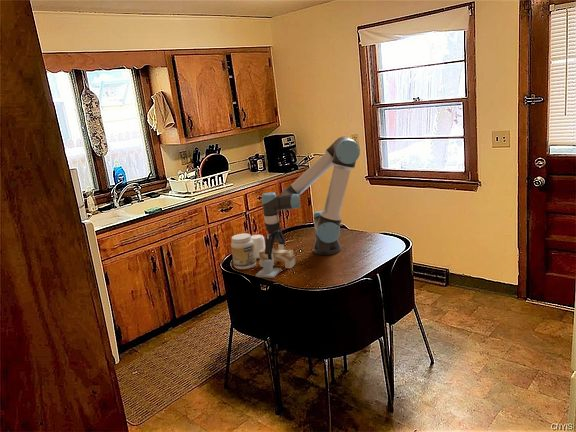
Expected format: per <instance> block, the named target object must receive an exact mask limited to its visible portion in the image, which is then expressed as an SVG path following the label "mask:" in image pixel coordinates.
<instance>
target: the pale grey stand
mask: <svg viewBox="0 0 576 432" xmlns="http://www.w3.org/2000/svg"><path fill="white" fill-rule="evenodd" d="M262 263H263V267H262V268H261V270H259V271H258V272H257V273H256V274H255V278H256V277H257V278H271V279H274V278H275V277H276V276H277V275H278V274H279V273H280V272H281V271H282V268H281V267H274V266H273V264H272V260H267V259H265V260H264V261H262Z"/></svg>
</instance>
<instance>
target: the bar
mask: <svg viewBox="0 0 576 432" xmlns="http://www.w3.org/2000/svg"><path fill="white" fill-rule="evenodd" d="M272 253H273V259H274V262H275V261H276V262H277V261H278V262H285V261H292V260H293V259H294V257H295V256H294V250H293V249H284V250H279V249H277V248H276V249H274V248H273V249H272ZM259 257H260V258H259V260H265V259H267V260H268V254H265V249H262V250H261V251H259Z"/></svg>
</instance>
